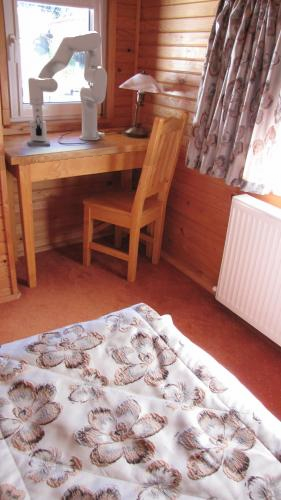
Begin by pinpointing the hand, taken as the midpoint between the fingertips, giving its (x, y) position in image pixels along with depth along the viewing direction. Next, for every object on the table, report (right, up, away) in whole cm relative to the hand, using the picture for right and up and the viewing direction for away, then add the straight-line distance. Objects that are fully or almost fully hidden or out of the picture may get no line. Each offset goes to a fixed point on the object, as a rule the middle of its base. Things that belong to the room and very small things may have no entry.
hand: (38, 134), depth 229 cm
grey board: (0, -5, +2) cm, 6 cm away
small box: (0, -3, +2) cm, 3 cm away
